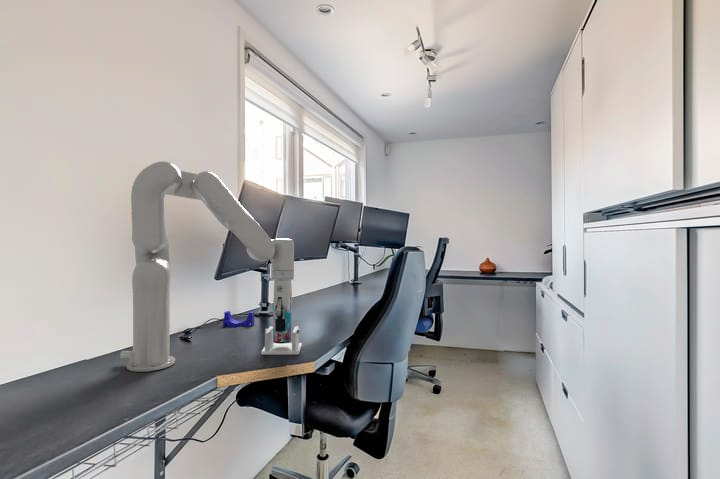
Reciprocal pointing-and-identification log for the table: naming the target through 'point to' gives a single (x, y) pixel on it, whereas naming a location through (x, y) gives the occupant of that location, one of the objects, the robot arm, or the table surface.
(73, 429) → the table surface
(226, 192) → the robot arm
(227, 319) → the cable clip
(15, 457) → the table surface
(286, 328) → the beverage can
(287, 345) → the clip holder
